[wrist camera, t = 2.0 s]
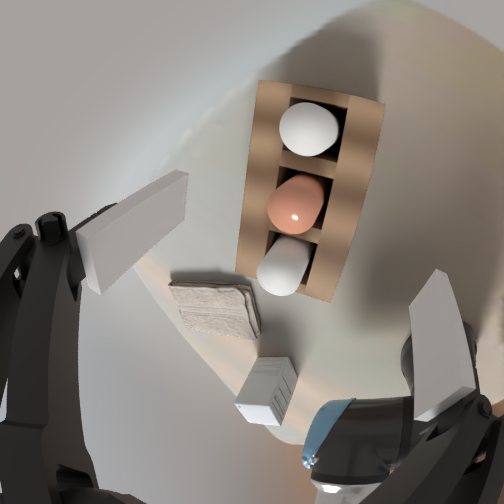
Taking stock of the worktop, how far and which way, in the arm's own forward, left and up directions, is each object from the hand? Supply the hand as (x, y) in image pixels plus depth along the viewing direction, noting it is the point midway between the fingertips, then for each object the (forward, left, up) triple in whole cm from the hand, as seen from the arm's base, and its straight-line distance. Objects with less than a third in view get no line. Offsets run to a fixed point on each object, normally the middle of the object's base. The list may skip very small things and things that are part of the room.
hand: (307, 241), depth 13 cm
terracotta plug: (-3, +3, -19) cm, 20 cm away
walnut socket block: (-3, +3, -24) cm, 24 cm away
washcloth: (-31, +16, -25) cm, 42 cm away
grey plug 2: (-10, +3, -19) cm, 22 cm away
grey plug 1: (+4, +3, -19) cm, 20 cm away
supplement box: (-42, +1, -24) cm, 48 cm away
